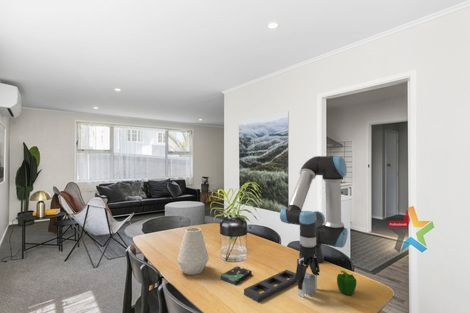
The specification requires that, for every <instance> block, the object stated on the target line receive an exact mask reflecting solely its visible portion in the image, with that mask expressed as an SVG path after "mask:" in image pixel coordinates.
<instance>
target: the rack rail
mask: <svg viewBox="0 0 470 313" xmlns="http://www.w3.org/2000/svg"><path fill="white" fill-rule="evenodd" d="M295 276H296V272H293V271H291V270H289V269H285V270H283V271H280V272H279V273H276V274H273V275H272V276H270V277H268V278H265V279H263V280H260V281H258V282H256V283H253V284H252V285H250V286H248V287H245V288H243V295H244V296H246V297H248V298H249V299H251V300H253V301H255V302H256V303H260V302H262V301H263V300H266V299H268V298H270V297H272V296H273V295H275V294H277V293H279V292H281V291H283V290H285V289H286V288H288V287H290V286H292V285H294V284H295V283H297V282H296V281H295ZM286 278H288V279H286ZM272 283H273V284H276V285H273V284H272ZM258 290H261V291H262V292H258Z"/></svg>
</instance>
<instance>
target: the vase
mask: <svg viewBox="0 0 470 313" xmlns="http://www.w3.org/2000/svg"><path fill="white" fill-rule="evenodd" d="M184 230H185V231H184V233H183V237H182V240H181V244H180V248H179V252H178V255H177V260H176V261H177V264H178V265H179V267H180V269H181V270H182V272H183V274H185V275H189V276H190V275H191V276H192V275H193V276H194V275H198V274H201V273H203V271H204V269H205V267H206V265H207V264H208V261H209V253H208V250H207V247H206V243H205V240H204V235H203V232H202V228H200V227H188V228H186V229H184Z"/></svg>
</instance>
